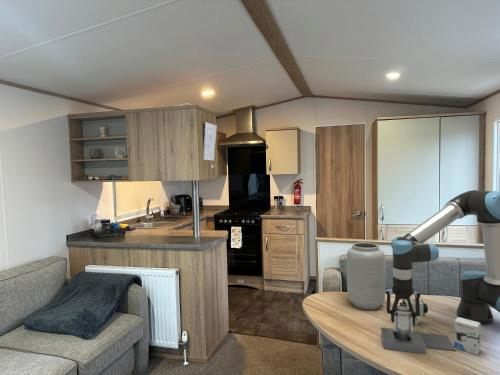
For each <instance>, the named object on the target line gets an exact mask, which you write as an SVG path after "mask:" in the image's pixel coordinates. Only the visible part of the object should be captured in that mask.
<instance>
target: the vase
mask: <svg viewBox="0 0 500 375" xmlns="http://www.w3.org/2000/svg"><path fill="white" fill-rule="evenodd" d="M346 287H347V288H346V289H347V290H346V291H347V292H346V293H347V298H348V300H349V301H350V302H351V303H352V304H353V306H354V307H357V308H358V309H363V310H377V309H378V308H380V307H381V306H382V305H383V304H384V303H385V299H386V256H385V253H384V250H382V249H380V246H379V244H377V243H374V242H373V243H372V242H362V241H361V242H355V243H352V246H351V247H350V248H349V249H348V250H347V252H346Z"/></svg>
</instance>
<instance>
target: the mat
mask: <svg viewBox="0 0 500 375" xmlns="http://www.w3.org/2000/svg"><path fill="white" fill-rule="evenodd" d="M420 333H421V335H422V338H423V340H424V342H425V345H426V349H431V350H442V351H449V352H456V348H454V344H453V343H452V341H451V340H450V338H449V335H446V334H445V335H444V334H435V333H427V332H426V333H425V332H420Z"/></svg>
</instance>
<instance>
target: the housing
mask: <svg viewBox="0 0 500 375" xmlns="http://www.w3.org/2000/svg"><path fill="white" fill-rule="evenodd" d="M421 333H422V332H421V331H419V330H413V333H412V332H410V341H409V340H400V339H396V331H395V330H394V328H389V327H380V336H381V341H382V346H383V349H384V350H389V351H391V350H392V351H399V352H407V353H414V354H422V355H426V353H427V348H426V345H425V342H424V340H423V338H422V335H421Z"/></svg>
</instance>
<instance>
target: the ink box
mask: <svg viewBox="0 0 500 375" xmlns="http://www.w3.org/2000/svg"><path fill="white" fill-rule="evenodd" d="M453 325H454V327H453V328H454V329H453V331H454V332H453V333H454V334H453V337H454V341H453V346H454V348H455V349H457V350H461V351H463V352H464V351H465V352H467V353H471V354H474V355H477V356H478V355H479V353H480V352H481V331H482V329H481V325H482V324H481V323H479V322H475V321H472V320H468V319H464V318H460V317H458V316H457V317H456V318H455V319H454V324H453Z"/></svg>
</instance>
